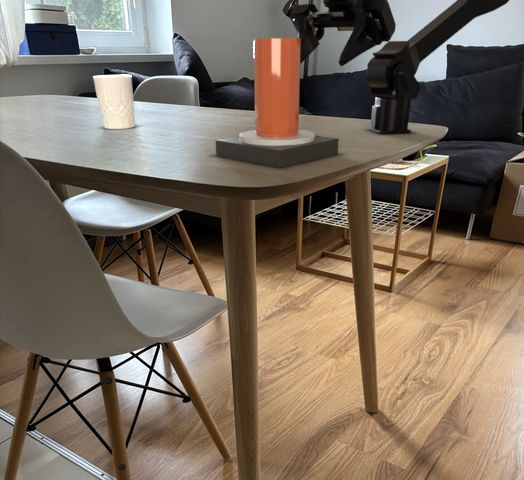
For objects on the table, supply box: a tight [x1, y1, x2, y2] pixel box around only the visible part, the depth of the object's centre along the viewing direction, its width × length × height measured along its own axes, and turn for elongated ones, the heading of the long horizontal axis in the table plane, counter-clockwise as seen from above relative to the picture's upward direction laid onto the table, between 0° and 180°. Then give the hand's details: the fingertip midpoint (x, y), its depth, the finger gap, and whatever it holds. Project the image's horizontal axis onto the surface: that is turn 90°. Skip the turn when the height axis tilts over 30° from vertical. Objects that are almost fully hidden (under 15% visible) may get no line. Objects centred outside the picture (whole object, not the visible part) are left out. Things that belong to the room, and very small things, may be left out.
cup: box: [253, 37, 301, 137], centre depth 78 cm, size 7×7×13 cm
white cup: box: [92, 74, 136, 130], centre depth 110 cm, size 8×8×10 cm
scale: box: [215, 129, 340, 169], centre depth 82 cm, size 14×14×3 cm
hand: (317, 63), depth 85 cm, fingers open, 9 cm apart
